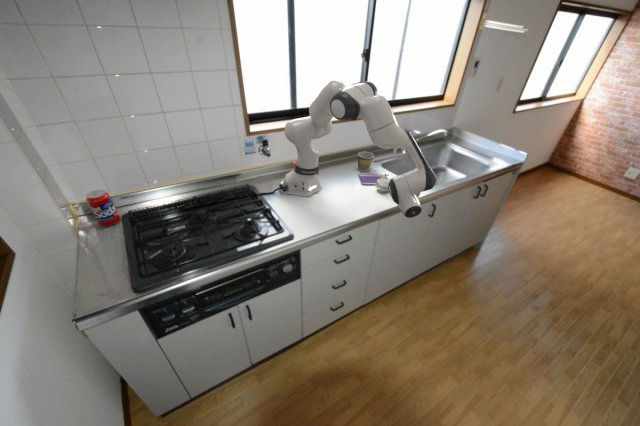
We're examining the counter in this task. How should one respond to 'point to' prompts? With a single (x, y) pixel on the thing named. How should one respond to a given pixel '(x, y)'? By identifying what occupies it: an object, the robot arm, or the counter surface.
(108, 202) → the soda can
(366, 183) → the towel
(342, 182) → the counter surface
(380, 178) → the green grape bunch
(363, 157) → the ceramic cup
